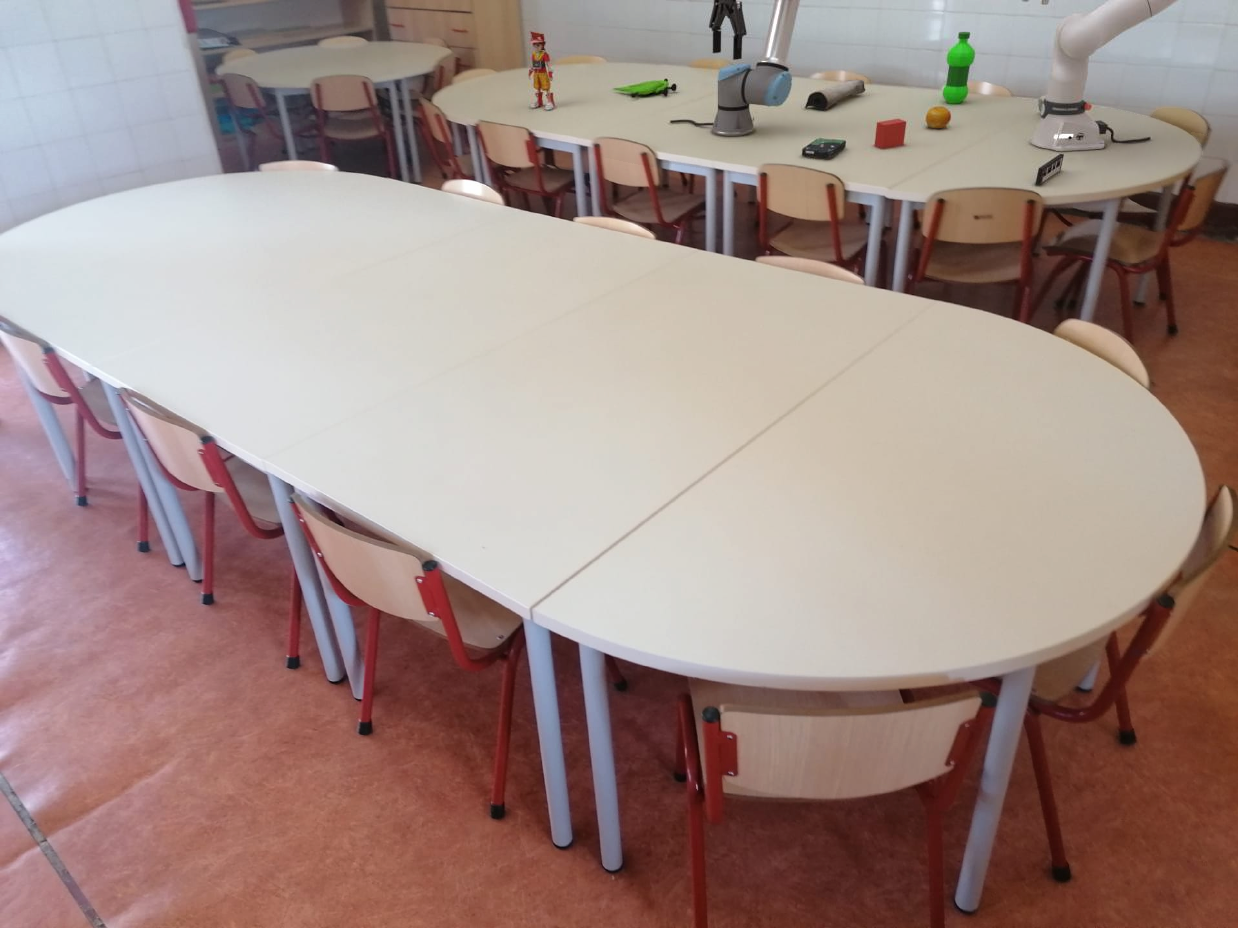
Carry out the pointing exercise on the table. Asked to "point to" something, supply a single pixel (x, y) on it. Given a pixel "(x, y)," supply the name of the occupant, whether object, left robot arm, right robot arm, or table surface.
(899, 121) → the block
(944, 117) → the fruit
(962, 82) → the plastic bottle
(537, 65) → the toy
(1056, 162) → the midi keyboard
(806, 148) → the disk drive
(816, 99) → the rolled mat
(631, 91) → the toy
